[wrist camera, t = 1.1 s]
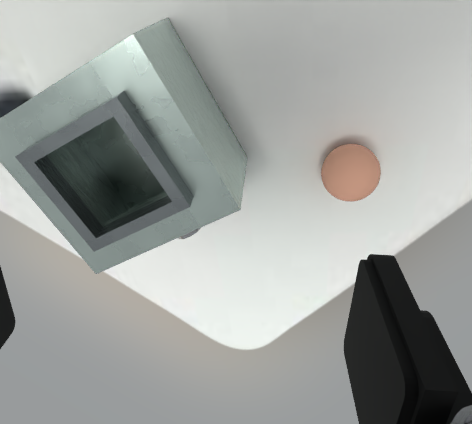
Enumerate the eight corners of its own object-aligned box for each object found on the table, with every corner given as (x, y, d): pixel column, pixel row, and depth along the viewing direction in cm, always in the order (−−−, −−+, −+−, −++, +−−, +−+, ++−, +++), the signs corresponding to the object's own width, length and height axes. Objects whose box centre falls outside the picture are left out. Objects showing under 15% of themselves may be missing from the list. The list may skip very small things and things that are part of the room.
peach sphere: (362, 126, 33) (374, 146, 29) (381, 172, 35) (395, 197, 31) (309, 150, 35) (314, 173, 31) (331, 193, 36) (338, 220, 32)
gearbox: (167, 17, 30) (124, 37, 22) (258, 177, 36) (254, 244, 27) (42, 96, 34) (-38, 141, 25) (143, 230, 40) (106, 306, 31)
